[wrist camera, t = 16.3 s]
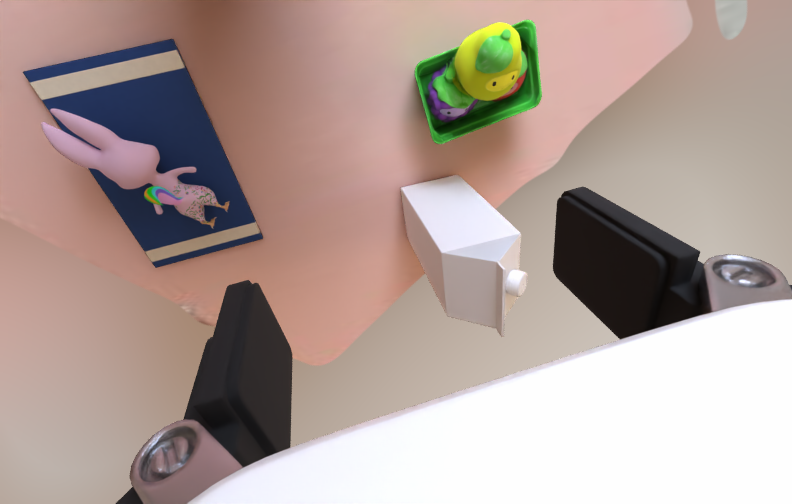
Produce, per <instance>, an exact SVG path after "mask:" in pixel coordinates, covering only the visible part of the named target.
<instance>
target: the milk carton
mask: <svg viewBox="0 0 792 504" xmlns="http://www.w3.org/2000/svg"><path fill="white" fill-rule="evenodd" d="M401 197H402V204H403V211H404V218H405V224H406V231H407V237H408V240H409V242H410V244H411V246H412V248H413V250H414V252H415V254H416V256H417V258H418V260H419V262H420V264H421V266H422V267H423V269H424V271H425V273H426V275H427V277H428V279H429V281H430V283H431V285H432V287H433V289H434V291H435V293H436V295H437V297H438V299H439V300H440V303H441V305H442V307H443V309H444V311H445V313H446V314H447V316H448V317H452V318H456V319H460V320H464V321H468V322H472V323H476V324H480V325H484V326H488V327H492V328H496V329H497V331H498V332H499V334H500V335H501V337H503V336H504V318H505V317H506V315H507V313H508V312H509V310H510V309H511V307H512V306H513V304H514V302H515V301H516V300H517V297H520V296H521V295H522V294H523V292H524V290H525V288H526V285H527V273H526V272H523V271H519V261H520V244H521V243H520V242H521V233H520V232H519V231H518V230H517V229H516V228H515V227H514V226H512V225H511V224H510V223H509V222H508V221H507V220H506V219H505V218H504V217H503V216H502V215H501V214H500V213H499V212H498V211H496V210H495V209H494V208H493V207H492V206H491V205H490V204H489V203H488V202H487V201H486V200H485V199H484V198H483V197H481V196H480V195H479V194H478V193H477V192H476V191H475V190H474V189H473V188H472V187H471V186H470V185H469V184H468V183H466V182H465V181H464V180H463V179H462V178H461V177H460V176H459V175H454V176H450V177H445V178H441V179H436V180H432V181H427V182H423V183H418V184H414V185H409V186H405V187H401Z"/></svg>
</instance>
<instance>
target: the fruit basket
mask: <svg viewBox="0 0 792 504" xmlns="http://www.w3.org/2000/svg"><path fill="white" fill-rule="evenodd" d="M415 78H416V82H417V85H418V88H419V92H420V96H421V99H422V103H423V106H424V110H425V114H426V117H427V121H428V125H429V129H430V133H431V137H432V139H433V141H434V142H435V143H437V144H444V143H446V142H448V141H451V140H453V139H456V138H458V137H461V136H463V135H466V134H468V133H471V132H473V131H476V130H478V129H481V128H483V127H486V126H488V125H491V124H494V123H496V122H499V121H501V120H504V119H506V118H509V117H511V116H514V115H517V114H519V113H521V112H524V111H527V110H530V109H532V108H534V107H536V106H537V105H538V104H539V103H540V101H541V97H542V91H541V81H540V71H539V60H538V47H537V36H536V26H535V24H534V22H533V21H531V20H524V21H522V22H519V23H517V24H514V25H512V26H510V25H508V24H506V23H495V24H492V25H490V26H488V27H486V28H482V29H480V30H478V31H476V32H474V33H472V34H471V35H469V36H468V37H467V38H466V39H465V40H464V41H463V42H462V44H461V45H460V46H459V47H456V48H454V49H451V50H449V51H446V52H444V53H441V54H439V55H436V56H433V57H431V58H428V59H426V60H423V61H421V62H419V63H418V65H417V66H416V68H415Z"/></svg>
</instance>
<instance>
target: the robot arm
mask: <svg viewBox="0 0 792 504" xmlns="http://www.w3.org/2000/svg"><path fill="white" fill-rule="evenodd" d="M699 254H700V251H698V250H696V249H695V248H693V247H691V246H689V245H688V244H686V243H684V242H682V241H680V240H679V239H677V238H675V237H673V236H671V235H670V234H668V233H666V232H664V231H662V230H660V229H659V228H657V227H655V226H654V225H652V224H650V223H648V222H647V221H645V220H643V219H641V218H639V217H638V216H636V215H634V214H632V213H630V212H628V211H627V210H625V209H623V208H621V207H620V206H618V205H616V204H614V203H613V202H611V201H609V200H607V199H605V198H604V197H602V196H600V195H598V194H596V193H595V192H593V191H591V190H589V189H588V188H586V187H580V188H576V189H572V190H569V191H565V192H564V193H563V194H562V196H561V198H559V199H558V201H557V212H556V228H555V244H554V259H553V271H554V273H555V275H556V277H557V278H558V279H559V280H560V281H561V282H562V283H563V284H564V285H565V286H566V287H567V288H568V289H569V290H570V291H571V292H572V293H573V294H574V295H575V296H576V297H577V298H578V299H579V300H580V301H581V302H582V303H583V304H584V305H585V306H586V307H587V308H588V309H589V310H590V311H591V312H593V313H594V314H595V315H596V316H597V317H598V318H599V319H600V320H601V321H602V322H603V323H604V324H605V325H606V326H607V327H608V328H609V329H610V330H611V331H612V332H613V333H614V334H615V335H616V336H617V337H618V338H619V339H620V340H617V341H614V342H611V343H608V344H605V345H602V346H598V347H595V348H593V349H589V350H586V351H582V352H579V353H576V354H573V355H570V356H567V357H564V358H560V359H557V360H554V361H551V362H548V363H545V364H541V365H539V366H535V367H532V368H529V369H526V370H523V371H520V372H516V373H513V374H510V375H507V376H505V377H501V378H498V379H495V380H492V381H489V382H485V383H482V384H479V385H476V386H473V387H470V388H467V389H464V390H460V391H457V392H454V393H451V394H448V395H445V396H442V397H439V398H436V399H433V400H430V401H427V402H424V403H421V404H418V405H414V406H412V407H409V408H406V409H402V410H399V411H396V412H393V413H390V414H387V415H384V416H381V417H378V418H375V419H372V420H369V421H366V422H363V423H360V424H357V425H354V426H351V427H348V428H345V429H342V430H339V431H336V432H333V433H331V434H327V435H325V436H322V437H319V438H316V439H313V440H311V441H307V442H304V443H301V444H298V445H296V446H293V447H291V448H290V436H291V394H292V393H291V392H292V352H291V348H290V345H289V343H288V341H287V339H286V337H285V335H284V333H283V331H282V329H281V327H280V325H279V323H278V321H277V319H276V317H275V315H274V313H273V311H272V310H271V308H270V306H269V304H268V302H267V300H266V298H265V296H264V294H263V292H262V290H261V288H260V286H259V284H258V283H254V284H252V283H251V282H250V281H249V280H246V281H243V282H239V283H236V284H232V285H229V286H227V289H226V292H225V296H224V299H223V303H222V306H221V310H220V313H219V317H218V320H217V324H216V328H215V331H214V335H213V337H211V338H210V339H208V341H207V343H206V345H205V349H204V352H203V355H202V359H201V362H200V366H199V369H198V373H197V376H196V379H195V382H194V386H193V389H192V392H191V396H190V399H189V403H188V406H187V409H186V413H185V416H184V419H183V420H181V421H177V422H174V423H172V424H170V425H168V426H166V427H164V428H163V429H161V430H160V431H158V432H157V433H156V434H154V435H153V436H152V437H151V438H150V439H149V440H148V441H147V442H146V443H145V444H144V445H143V447H142V448H141V450H140V451H139V452H138V454H137V455H136V457H135V459H134V461H133V463H132V466H131V471H130V480H131V484H132V486H133V487H132V488H131V489H130V490H129V491H128V492H127V493H126V494H125V495H124V496H123V497H122V498H121V499H120V500H119V501H118V502H117V503H116V504H792V285H789V284H788V282H787V280H786V278H785V276H784V275H783V273H782V272H781V271H780V270H779V269H777V268H776V267H774V266H773V265H771V264H769V263H767V262H764V261H762V260H759V259H755V258H752V257H748V256H742V255H728V254H726V255H718V256H714V257H712V258H709V259H708V260H707V261H706V262H705V263H704V264H702V263H701V262H699V261H698V257H699Z"/></svg>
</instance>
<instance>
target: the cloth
mask: <svg viewBox="0 0 792 504" xmlns="http://www.w3.org/2000/svg"><path fill="white" fill-rule="evenodd" d="M23 73H24V75H25V76H26V78H27V79H28V81H29V82H30V84H31V86H32V87H33V88H34V90H35V91H36V93H37V94H38V96H39V97H40V99H41V100H42V101H43V103H44V104H45V106H46V107H47V109H48V110H49V112H50V109H59V110H63V111H66V112H68V113H71V114H74V115H77V116H80V117H82V118H85V119H87V120H89V121H92V122H94V123H97V124H99V125H101V126H103V127H105V128H107V129H109V130H111V131H112V132H113V133H115V134H116V135H117V136H118V137H119V138H121V139H123V140H127V141H132V142H138V143H143V144H148V145H153V146H154V147H156V149H157V150H158V152H159V156H160V160H159V163H158V165H157V167H156V171H157V172H158V173H160V174H164V173H166V172H168V171H171V170H174V169H177V168H182V167H195V168H196V172H194V173H182V174H180V175H179V176H178V177H177V179H178V180H179V181H180V182H182V183H183V184H187V185H199V186H204V187H207V188H209V189H211V190H212V191H213V192H214V194H215V197H216V199H217V202H218V203H219V204H220V205H222V206H224V205H225V203H226V202H228V203H229V206H228V210H227V212H226V210H225V209H224V208H221V207H216V206H211V205H203V206H204V218H205V220H206V221H207V222H210V221H211V219H214V218H215V217H216V218H215V222H214V226H213V228H214V229H213V228H212V227H211V225H208V224H202V223H201V222H200V221H198V220H196V219H193V218H191V217H189V216H185V215H183V214H181V213H180V212H179V211H178V210H177V209H176V208H175V206H174V205H169V204H163V203H161V204H162V205H160V206H161V208H162V210H163V213H162V214H157V213H156V210H155V207H154V204H153V203H151V202H149V201H148V200H146V199H145V197H144V192H145V191H146V189H148V188H149V187H153V185H152V184H151V183H147V184H145V185H143V186H141V187H139V188H135V189H123V188H121V187H120V186H119V185H118V184H117V183H116V182H114V181H113V180H111V179H109V178H108V177H106V176H105V175H104V174H103V173H102V172H101V171H99V170H97V169H93V168H88V169H89V170H90V172H91V173H92V175H93V176H94V178H95V179H96V181H97V182H98V184H99V185H100V187H101V188H102V190H103V191H104V192H105V194H106V195H107V197H108V198H109V200H110V201H111V203H112V204H113V206H114V207H115V209H116V210H117V212H118V213H119V215H120V216H121V217H122V219H123V220H124V222H125V223H126V225H127V226H128V228H129V229H130V231H131V232H132V234H133V235H134V237H135V238H136V240H137V241H138V242H139V244H140V245H141V247H142V248H143V250H144V251H145V253H146V255H147V256H148V257H149V259H150V260H151V262H152V263H153V265H154V266H155V267H156V268H157V267H160V266H164V265H168V264H171V263H175V262H179V261H183V260H186V259H190V258H194V257H197V256H201V255H205V254H208V253H212V252H216V251H219V250H223V249H227V248H231V247H234V246H238V245H242V244H245V243H249V242H253V241H256V240H260V239H263V236H262V234H261V232H260V229H259V227H258V225H257V223H256V221H255V218H254V216H253V214H252V212H251V210H250V207H249V205H248V203H247V201H246V199H245V196H244V194H243V192H242V190H241V188H240V185H239V183H238V181H237V179H236V176H235V174H234V172H233V170H232V168H231V165H230V163H229V161H228V159H227V157H226V154H225V152H224V150H223V148H222V146H221V143H220V141H219V139H218V137H217V135H216V132H215V130H214V128H213V126H212V123H211V121H210V119H209V117H208V115H207V112H206V110H205V108H204V106H203V104H202V101H201V99H200V97H199V95H198V93H197V90H196V88H195V86H194V84H193V82H192V79H191V77H190V75H189V73H188V71H187V68H186V66H185V64H184V62H183V59H182V57H181V55H180V53H179V51H178V48H177V46H176V44H175V42H174V40H173V39H170V40H166V41H161V42H156V43H152V44H147V45H143V46H138V47H134V48H129V49H125V50H120V51H115V52H111V53H106V54H102V55H97V56H93V57H88V58H84V59H79V60H74V61H70V62H65V63H61V64H56V65H52V66H47V67H43V68H38V69H33V70H29V71H24V72H23ZM50 113H51V112H50ZM51 115H52V116H53V117H54V119H55V120H56V122H57V123H58V125H59V126H60V128H61V129H62V131H64V132H65V133H67V134H69V135H71V136H73V137H75V138H77V139H79V140H81V141H83V142H85V143H87V144H88V145H90V146H92V147H94V148H96V149H98V150H101V149H100V148H98V147H96V146H94V145H92V144H90V143H89V142H87V141H86V140H84V139H83V138H81V137H80V136H78V135H76V134H75V133H73V132H72V131H71V130H69V129H68V128H67V127H66V126H65V125H64V124H63V123H62V122H61V121H60V120H59V119H58V118H57V117H55V116H54V115H53V114H52V113H51Z"/></svg>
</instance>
